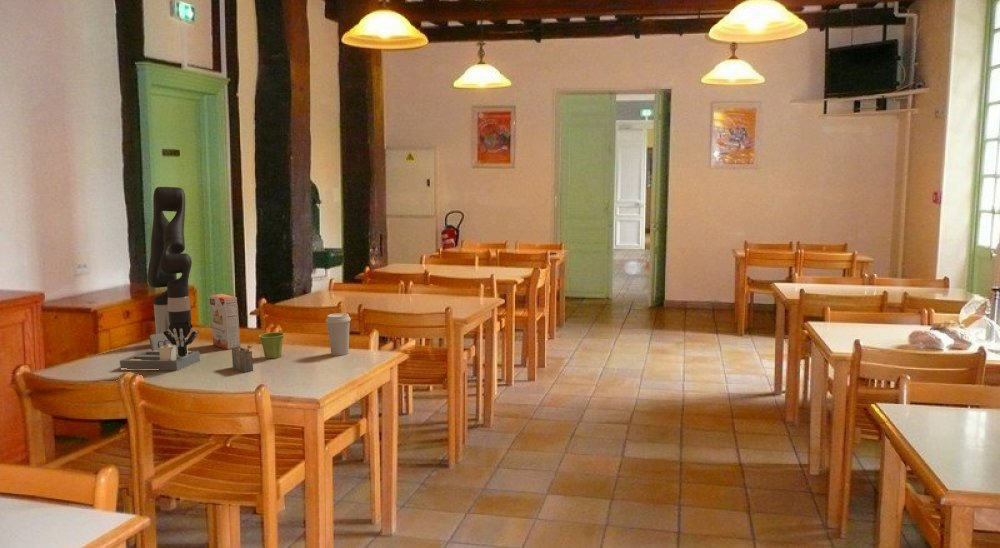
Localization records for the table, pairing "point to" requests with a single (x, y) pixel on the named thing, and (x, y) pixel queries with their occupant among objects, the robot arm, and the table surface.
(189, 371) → the table surface
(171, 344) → the white block
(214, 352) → the table surface
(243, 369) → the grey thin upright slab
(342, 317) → the coffee cup
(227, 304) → the cracker box
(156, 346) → the electrical switch
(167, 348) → the tab
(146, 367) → the grey compartment tray
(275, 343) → the plant pot
